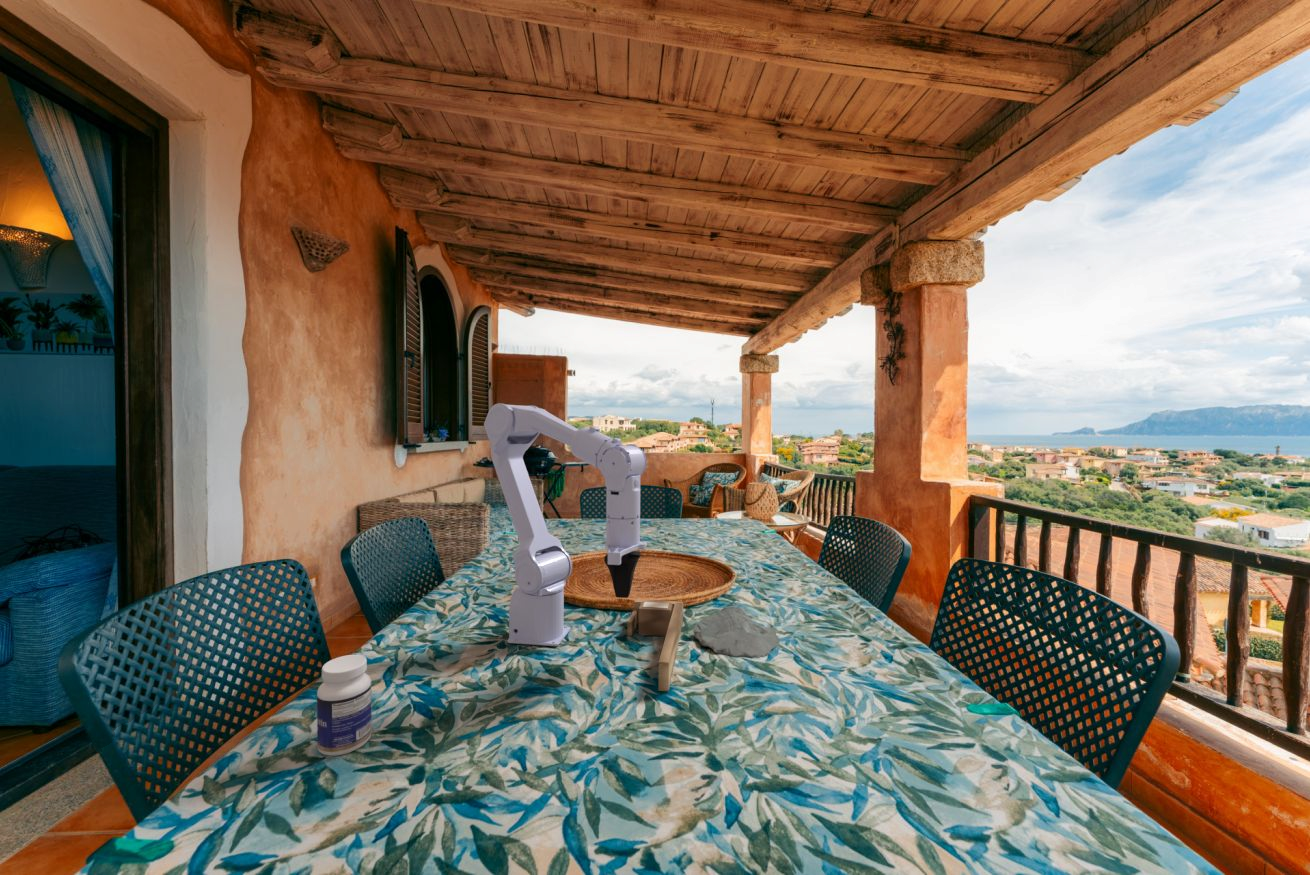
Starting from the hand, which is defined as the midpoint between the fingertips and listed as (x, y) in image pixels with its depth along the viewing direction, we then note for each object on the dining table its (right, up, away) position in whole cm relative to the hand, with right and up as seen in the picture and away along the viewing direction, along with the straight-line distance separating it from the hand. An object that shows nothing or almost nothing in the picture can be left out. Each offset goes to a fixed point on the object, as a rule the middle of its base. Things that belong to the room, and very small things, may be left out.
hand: (622, 596), depth 86 cm
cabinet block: (+6, -10, +12) cm, 16 cm away
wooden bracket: (+4, -10, +3) cm, 12 cm away
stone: (+20, -11, +8) cm, 24 cm away
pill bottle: (-33, -11, -24) cm, 42 cm away
